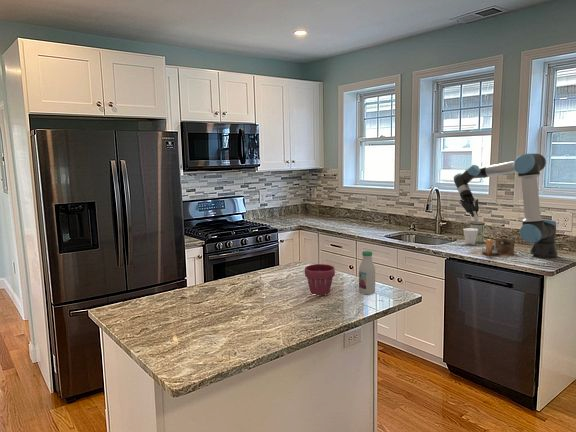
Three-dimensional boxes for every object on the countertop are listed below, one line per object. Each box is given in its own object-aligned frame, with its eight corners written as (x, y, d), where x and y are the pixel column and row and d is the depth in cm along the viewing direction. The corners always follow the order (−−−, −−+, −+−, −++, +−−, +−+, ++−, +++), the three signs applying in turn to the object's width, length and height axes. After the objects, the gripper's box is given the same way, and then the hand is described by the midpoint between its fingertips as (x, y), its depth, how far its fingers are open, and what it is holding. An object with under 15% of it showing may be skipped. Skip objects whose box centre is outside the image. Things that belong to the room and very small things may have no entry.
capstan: (493, 251, 288) (493, 236, 287) (503, 255, 277) (504, 239, 275) (477, 252, 287) (478, 237, 286) (487, 256, 276) (488, 240, 274)
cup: (461, 245, 315) (462, 230, 313) (463, 242, 324) (464, 227, 322) (476, 246, 310) (477, 230, 309) (478, 243, 319) (478, 228, 317)
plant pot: (299, 295, 210) (299, 268, 208) (314, 287, 222) (314, 262, 220) (325, 300, 202) (325, 272, 200) (339, 291, 214) (339, 266, 212)
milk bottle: (373, 289, 216) (373, 249, 213) (376, 294, 208) (377, 253, 206) (357, 290, 216) (357, 250, 213) (360, 295, 208) (360, 253, 205)
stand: (513, 255, 283) (514, 239, 281) (506, 260, 270) (507, 243, 268) (475, 250, 298) (475, 235, 297) (466, 254, 285) (467, 239, 284)
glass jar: (467, 240, 333) (467, 221, 331) (481, 240, 332) (482, 221, 330) (471, 242, 323) (472, 223, 321) (486, 242, 322) (486, 223, 320)
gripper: (472, 196, 307) (484, 223, 292) (454, 196, 306) (465, 223, 291) (476, 189, 301) (488, 216, 287) (458, 189, 300) (469, 217, 285)
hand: (476, 220), depth 289 cm, fingers closed
